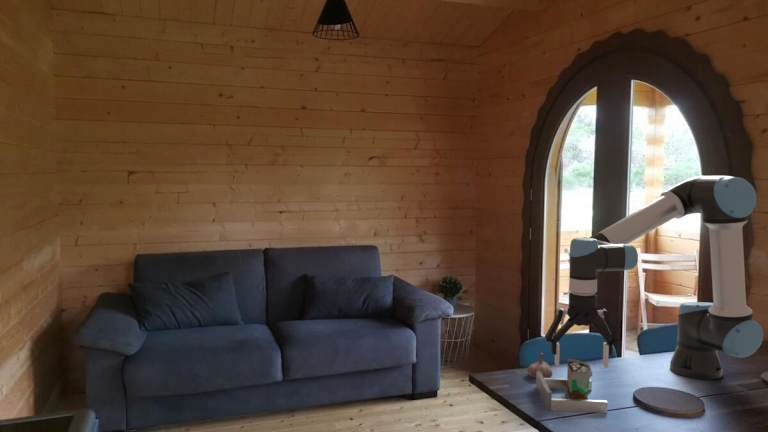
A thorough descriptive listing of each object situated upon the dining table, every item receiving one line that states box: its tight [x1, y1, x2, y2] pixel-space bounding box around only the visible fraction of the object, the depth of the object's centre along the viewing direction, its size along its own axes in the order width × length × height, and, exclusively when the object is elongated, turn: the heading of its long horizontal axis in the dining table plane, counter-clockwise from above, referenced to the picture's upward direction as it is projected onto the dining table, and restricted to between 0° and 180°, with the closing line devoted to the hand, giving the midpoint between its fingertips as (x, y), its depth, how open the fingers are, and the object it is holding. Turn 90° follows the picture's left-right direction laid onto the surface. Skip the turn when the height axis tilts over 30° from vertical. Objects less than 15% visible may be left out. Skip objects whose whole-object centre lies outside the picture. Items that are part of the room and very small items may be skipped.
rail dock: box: [535, 371, 609, 414], centre depth 171 cm, size 16×17×5 cm
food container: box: [566, 358, 593, 400], centre depth 171 cm, size 12×6×10 cm, turn 169°
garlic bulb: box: [527, 352, 553, 379], centre depth 190 cm, size 8×7×8 cm
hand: (581, 365), depth 171 cm, fingers open, 13 cm apart
